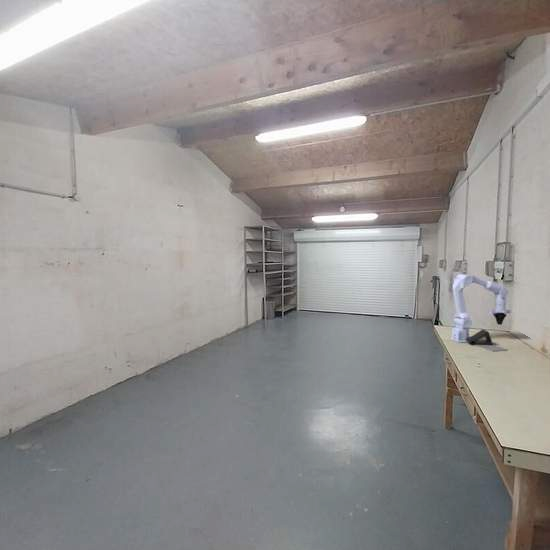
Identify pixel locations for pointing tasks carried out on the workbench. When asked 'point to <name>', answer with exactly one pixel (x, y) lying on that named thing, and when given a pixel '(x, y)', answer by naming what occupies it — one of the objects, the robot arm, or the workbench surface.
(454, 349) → the workbench surface
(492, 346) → the mat
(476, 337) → the phone stand
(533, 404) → the workbench surface
